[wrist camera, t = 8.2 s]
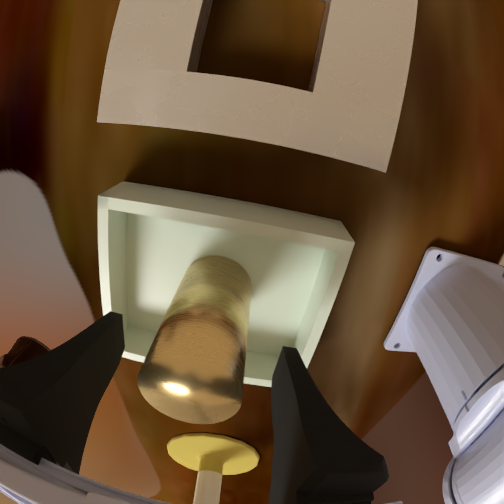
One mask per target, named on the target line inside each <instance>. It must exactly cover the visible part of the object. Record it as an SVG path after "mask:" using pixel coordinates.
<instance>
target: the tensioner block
mask: <svg viewBox="0 0 504 504" xmlns="http://www.w3.org/2000/svg"><path fill="white" fill-rule="evenodd" d="M321 1H325V2H326V3H325V8H324V13H323V19H322V24H321V29H320V34H319V39H318V44H317V49H316V54H315V59H314V64H313V69H312V74H311V79H310V83H309V88H308V91H305V90H300V89H296V88H291V87H287V86H282V85H277V84H272V83H267V82H261V81H256V80H250V79H244V78H237V77H230V76H223V75H215V74H206V73H197V69H198V65H199V60H200V55H201V50H202V46H203V41H204V37H205V32H206V28H207V24H208V20H209V15H210V11H211V7H212V3H213V0H121V1H120V5H119V8H118V12H117V16H116V19H115V23H114V27H113V32H112V36H111V40H110V45H109V49H108V54H107V59H106V65H105V70H104V76H103V82H102V88H101V95H100V102H99V110H98V118H97V122H102V123H120V124H133V125H145V126H156V127H165V128H174V129H183V130H190V131H198V132H205V133H212V134H218V135H225V136H231V137H237V138H243V139H248V140H254V141H259V142H264V143H269V144H274V145H279V146H284V147H289V148H293V149H298V150H302V151H307V152H311V153H315V154H319V155H323V156H327V157H331V158H335V159H339V160H343V161H347V162H350V163H354V164H358V165H361V166H365V167H368V168H372V169H375V170H378V171H382V172H385V173H386V170H387V167H388V163H389V159H390V155H391V151H392V147H393V143H394V139H395V135H396V131H397V126H398V122H399V117H400V113H401V108H402V103H403V98H404V93H405V88H406V83H407V77H408V71H409V65H410V59H411V53H412V46H413V39H414V31H415V23H416V14H417V4H418V0H321Z"/></svg>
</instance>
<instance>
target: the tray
mask: <svg viewBox="0 0 504 504" xmlns="http://www.w3.org/2000/svg"><path fill="white" fill-rule="evenodd" d="M354 244H355V242H354V240H353V239H352V237H351V236H350V234H349V233H348V231H347V230H346V228H345V227H344V225H343V224H342V222H341V221H339V220H334V219H330V218H325V217H321V216H316V215H311V214H306V213H302V212H297V211H292V210H287V209H282V208H277V207H272V206H267V205H262V204H257V203H252V202H246V201H241V200H235V199H230V198H224V197H219V196H213V195H207V194H201V193H195V192H189V191H183V190H177V189H171V188H165V187H158V186H151V185H145V184H138V183H131V182H124V181H123V182H121V183H119V184H118V185H116V186H114V187H112V188H110V189H109V190H107V191H105V192H103V193H102V194H100V195H98V254H99V273H100V287H101V299H102V309H103V316H104V315H106V314H107V313H109V312H110V311H112V312H115V313H119V314H122V315H123V329H124V341H125V349H124V352H123V355H122V357H124V358H128V359H132V360H135V361H139V362H143V363H144V361H145V358H146V356H147V354H148V351H149V349H150V347H151V345H152V343H153V340H154V338H155V336H156V334H157V331H158V329H159V327H160V325H161V323H162V321H163V318H164V316H165V314H166V312H167V310H168V308H169V306H170V303H171V301H172V299H173V297H174V295H175V293H176V291H177V289H178V287H179V284H180V282H181V280H182V278H183V276H184V274H185V272H186V270H187V269H188V267H189V266H190V265H191V264H192V263H193V262H194V261H196V260H198V259H200V258H202V257H205V256H211V255H217V256H224V257H227V258H230V259H232V260H234V261H236V262H237V263H239V264H240V265H241V266H242V267H243V268H244V269H245V270H246V272H247V273H248V275H249V277H250V280H251V284H252V293H251V304H250V316H249V327H248V338H247V349H246V360H245V371H244V382H243V383H246V384H253V385H260V386H267V387H271V386H272V376H273V373H274V370H275V367H276V364H277V361H278V358H279V356H280V353H281V350H282V347H283V346H286V347H293V348H297V350H298V352H299V354H300V356H301V358H302V360H303V362H304V364H305V366H306V368H307V367H308V365H309V363H310V360H311V358H312V356H313V353H314V351H315V349H316V346H317V344H318V341H319V339H320V337H321V334H322V332H323V329H324V327H325V324H326V322H327V319H328V317H329V314H330V311H331V309H332V306H333V304H334V301H335V298H336V296H337V293H338V290H339V287H340V285H341V282H342V279H343V276H344V273H345V271H346V268H347V265H348V262H349V259H350V256H351V253H352V250H353V247H354Z"/></svg>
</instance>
